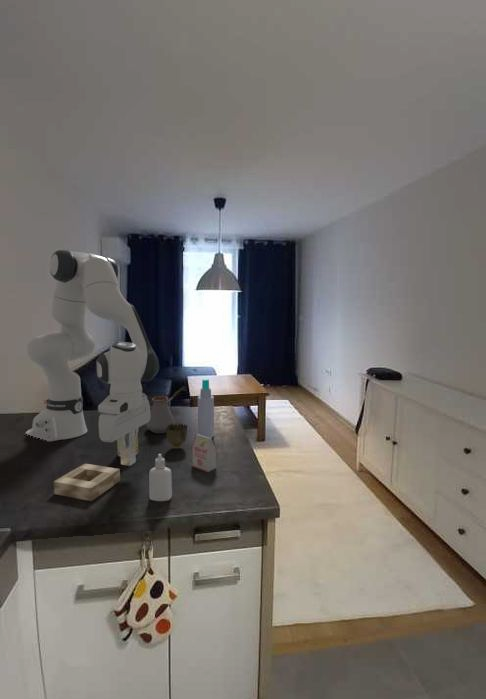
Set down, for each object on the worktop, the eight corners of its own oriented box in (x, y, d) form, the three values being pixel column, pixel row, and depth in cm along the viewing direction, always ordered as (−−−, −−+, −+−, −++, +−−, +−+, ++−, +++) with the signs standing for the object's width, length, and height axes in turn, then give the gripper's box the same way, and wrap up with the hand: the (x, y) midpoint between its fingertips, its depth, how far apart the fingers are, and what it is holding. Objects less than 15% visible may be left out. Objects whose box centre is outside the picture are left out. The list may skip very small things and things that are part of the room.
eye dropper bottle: (159, 491, 104) (158, 449, 102) (174, 497, 101) (173, 453, 99) (147, 498, 100) (145, 454, 99) (162, 505, 97) (161, 459, 96)
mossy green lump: (183, 453, 130) (182, 430, 129) (162, 451, 132) (162, 428, 131) (190, 445, 137) (190, 423, 136) (171, 443, 139) (170, 422, 138)
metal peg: (121, 464, 111) (119, 431, 110) (127, 460, 114) (126, 427, 113) (129, 465, 110) (128, 432, 109) (135, 461, 113) (135, 428, 112)
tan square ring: (54, 493, 103) (53, 481, 102) (85, 474, 114) (84, 463, 113) (91, 501, 99) (91, 488, 98) (120, 480, 110) (119, 469, 110)
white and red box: (200, 462, 123) (199, 432, 122) (215, 468, 119) (215, 437, 118) (191, 466, 120) (191, 435, 119) (207, 472, 116) (207, 440, 115)
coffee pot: (161, 436, 146) (161, 398, 144) (139, 431, 151) (138, 394, 149) (196, 421, 164) (195, 387, 162) (175, 417, 170) (174, 384, 168)
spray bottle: (206, 440, 142) (206, 382, 139) (194, 437, 146) (194, 380, 143) (217, 436, 147) (217, 379, 144) (205, 432, 150) (205, 377, 148)
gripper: (137, 390, 121) (138, 433, 122) (93, 407, 101) (95, 458, 103) (155, 392, 119) (156, 435, 120) (113, 410, 99) (115, 461, 101)
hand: (127, 446), depth 112 cm, fingers closed on metal peg, 3 cm apart
